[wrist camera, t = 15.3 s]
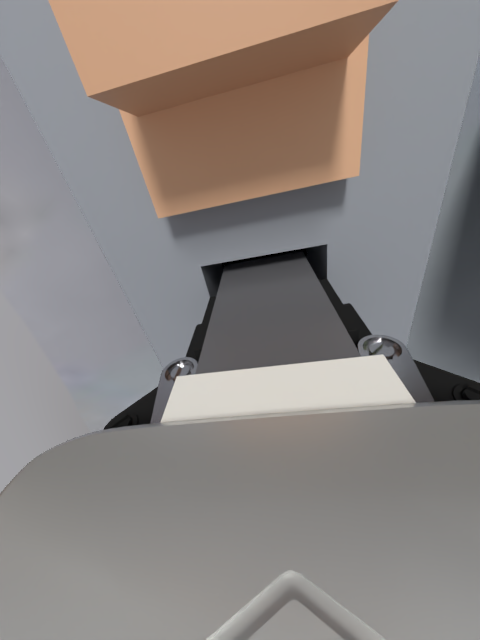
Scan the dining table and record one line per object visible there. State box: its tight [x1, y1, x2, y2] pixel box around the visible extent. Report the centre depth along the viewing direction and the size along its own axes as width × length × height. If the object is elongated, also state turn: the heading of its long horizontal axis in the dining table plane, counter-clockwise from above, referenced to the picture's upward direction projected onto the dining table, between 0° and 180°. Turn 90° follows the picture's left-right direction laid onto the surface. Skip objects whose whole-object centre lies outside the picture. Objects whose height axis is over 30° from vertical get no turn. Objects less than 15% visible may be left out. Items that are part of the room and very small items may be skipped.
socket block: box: [0, 0, 480, 369], centre depth 12 cm, size 18×14×5 cm
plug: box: [160, 251, 416, 423], centre depth 9 cm, size 5×5×9 cm
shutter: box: [48, 0, 399, 219], centre depth 5 cm, size 7×7×3 cm
